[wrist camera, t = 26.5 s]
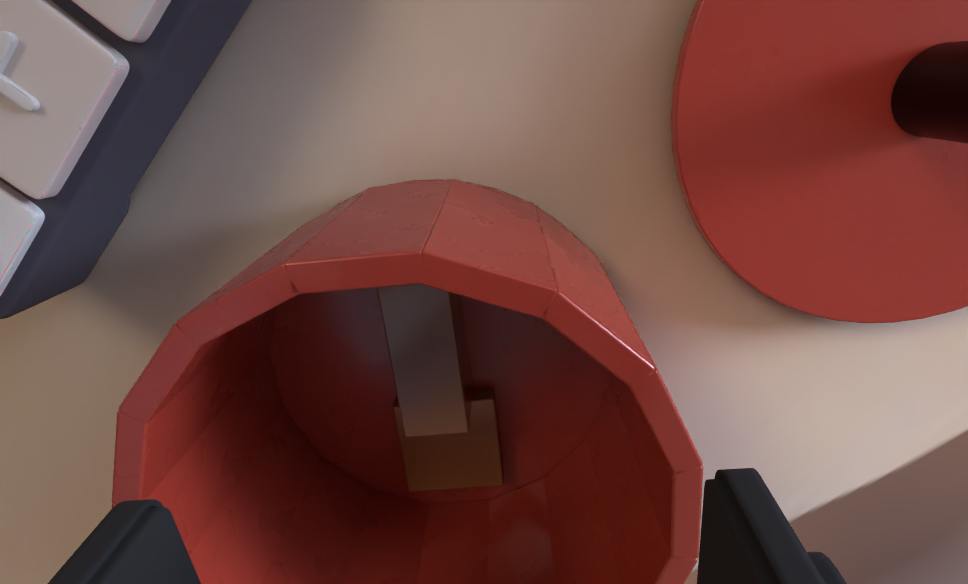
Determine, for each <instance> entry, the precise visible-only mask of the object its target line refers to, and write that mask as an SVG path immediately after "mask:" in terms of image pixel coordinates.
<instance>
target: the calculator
mask: <svg viewBox="0 0 968 584" xmlns="http://www.w3.org/2000/svg"><path fill="white" fill-rule="evenodd" d="M250 2H251V0H0V319H4V318H8V317H10V316H12V315H15V314H17V313H19V312H21V311H24V310H26V309H28V308H30V307H32V306H35V305H37V304H39V303H41V302H43V301H45V300H48V299H50V298H52V297H54V296H56V295H58V294H61V293H63V292H65V291H67V290H69V289H71V288H74V287H76V286H78V285H80V284H82V283H83V282H84V281H85V279H86V278H87V276H88V275H89V273H90V272H91V270H92V268H93V267H94V265H95V264H96V262H97V260H98V259H99V257H100V256H101V254H102V253H103V251H104V249H105V248H106V246H107V245H108V243H109V241H110V240H111V238H112V237H113V235H114V233H115V232H116V230H117V229H118V227H119V225H120V224H121V222H122V221H123V219H124V217H125V216H126V214H127V212H128V206H129V200H130V195H131V193H132V191H133V189H134V188H135V186H136V185H137V183H138V181H139V180H140V178H141V177H142V175H143V173H144V172H145V170H146V169H147V167H148V165H149V164H150V162H151V161H152V159H153V157H154V156H155V154H156V153H157V151H158V149H159V148H160V146H161V145H162V143H163V141H164V140H165V138H166V137H167V135H168V133H169V132H170V130H171V129H172V127H173V125H174V124H175V122H176V121H177V119H178V117H179V116H180V114H181V113H182V111H183V109H184V108H185V106H186V105H187V103H188V101H189V100H190V98H191V97H192V95H193V93H194V92H195V90H196V89H197V87H198V85H199V84H200V82H201V81H202V79H203V77H204V76H205V74H206V73H207V71H208V69H209V68H210V66H211V65H212V63H213V61H214V60H215V58H216V56H217V55H218V53H219V52H220V50H221V48H222V47H223V45H224V44H225V42H226V40H227V39H228V37H229V36H230V34H231V32H232V31H233V29H234V28H235V26H236V24H237V23H238V21H239V20H240V18H241V16H242V15H243V13H244V12H245V10H246V8H247V7H248V5H249V4H250Z"/></svg>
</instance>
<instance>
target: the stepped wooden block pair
mask: <svg viewBox="0 0 968 584" xmlns="http://www.w3.org/2000/svg"><path fill="white" fill-rule="evenodd" d="M377 293H378V298H379V303H380V308H381V314H382V319H383V324H384V329H385V335H386V340H387V345H388V350H389V356H390V361H391V366H392V371H393V377H394V382H395V387H396V392H397V397H396V399H395V402H394V405H393V411H394V416H395V421H396V427H397V432H398V437H399V442H400V447H401V452H402V457H403V462H404V467H405V473H406V478H407V483H408V488H409V491H410V492H414V491H429V490H444V489H458V488H473V487H488V486H502V485H503V484H504V470H503V461H502V453H501V444H500V435H499V427H498V418H497V409H496V401H495V392H494V389H481V390H473V385H472V378H471V370H470V363H469V355H468V348H467V340H466V333H465V325H464V317H463V310H462V302H461V295H457V294H454V293H450V292H447V291H444V290H440V289H437V288H433V287H430V286H426V285H423V284H411V285H400V286H389V287H377Z"/></svg>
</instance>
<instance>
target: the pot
mask: <svg viewBox="0 0 968 584" xmlns="http://www.w3.org/2000/svg"><path fill="white" fill-rule="evenodd" d="M411 284H423V285H426V286H430V287H433V288H437V289H440V290H444V291H447V292H450V293H454V294H457V295H461V302H462V310H463V317H464V325H465V333H466V340H467V348H468V355H469V363H470V370H471V378H472V385H473V390H481V389H494V392H495V401H496V409H497V418H498V427H499V435H500V444H501V453H502V461H503V470H504V484H503V485H502V486H488V487H473V488H458V489H444V490H429V491H414V492H410V491H409V488H408V483H407V478H406V473H405V467H404V462H403V457H402V452H401V447H400V442H399V437H398V432H397V427H396V421H395V416H394V411H393V405H394V402H395V399H396V397H397V392H396V387H395V382H394V377H393V371H392V366H391V361H390V356H389V350H388V345H387V340H386V335H385V329H384V324H383V319H382V314H381V308H380V303H379V298H378V293H377V287H389V286H400V285H411ZM702 480H703V466H702V460H701V458H700V456H699V454H698V452H697V450H696V448H695V446H694V444H693V442H692V440H691V438H690V435H689V433H688V431H687V429H686V427H685V425H684V423H683V421H682V419H681V417H680V415H679V413H678V411H677V409H676V407H675V404H674V402H673V400H672V398H671V396H670V394H669V392H668V390H667V388H666V386H665V384H664V382H663V380H662V378H661V375H660V373H659V371H658V369H657V368H656V366H655V364H654V362H653V360H652V358H651V356H650V355H649V353H648V351H647V349H646V347H645V345H644V343H643V341H642V340H641V338H640V336H639V334H638V332H637V330H636V328H635V327H634V325H633V323H632V321H631V319H630V317H629V315H628V314H627V312H626V310H625V308H624V306H623V304H622V302H621V301H620V299H619V297H618V295H617V293H616V291H615V289H614V287H613V286H612V284H611V282H610V280H609V278H608V276H607V274H606V273H605V271H604V269H603V267H602V265H601V263H600V261H599V260H598V258H597V256H595V254H594V253H593V252H592V251H591V250H590V249H588V248H587V247H586V246H585V245H584V244H583V243H582V242H581V241H580V240H578V239H577V238H576V237H575V236H574V235H573V234H572V233H571V232H570V231H569V230H568V229H567V228H566V227H565V226H564V225H562V224H561V223H560V222H558V221H557V220H555V219H554V218H553V217H551V216H550V215H549V214H547V213H546V212H544V211H543V210H542V209H540V208H539V207H538V206H537V205H534V203H531V202H528V201H525V200H523V199H521V198H518V197H516V196H513V195H511V194H508V193H505V192H503V191H500V190H497V189H495V188H490V187H486V186H482V185H478V184H473V183H469V182H462V181H459V180H456V179H454V180H453V179H449V180H414V181H408V182H402V183H396V184H390V185H386V186H378V187H371V188H368V189H366V190H364V191H363V192H361V193H359V194H357V195H356V196H354V197H352V198H350V199H348V200H346V201H344V202H342V203H340V204H338V205H337V206H335V207H334V208H332V209H330V210H329V211H327V212H325V213H323V214H322V215H320V216H318V217H316V218H314V219H313V220H311V221H309V222H307V223H306V224H304V225H302V226H301V227H300V228H298V229H297V230H296V231H294V232H293V233H292V234H290V235H289V236H288V237H287V238H285V239H284V240H283V241H281V242H280V243H279V244H277V245H276V246H275V247H273V248H272V249H271V250H269V251H268V252H267V253H265V254H264V255H263V256H262V257H260V258H259V259H258V260H256V261H255V262H254V263H252V264H251V265H250V266H248V267H247V268H246V269H244V270H243V271H242V272H241V273H239V274H238V275H237V276H235V277H234V278H233V279H231V280H230V281H229V282H227V283H226V284H225V285H223V286H222V287H221V288H220V289H218V290H217V291H216V292H214V293H213V294H212V295H210V296H209V297H208V298H206V299H205V300H204V301H202V302H201V303H200V304H199V305H197V306H196V307H195V308H193V309H192V310H191V311H189V312H188V313H187V314H185V315H184V316H183V317H181V318H180V319H179V320H178V321H177V322H176V323H175V324H174V325H173V326H172V328H171V329H170V331H169V332H168V334H167V335H166V337H165V338H164V340H163V342H162V343H161V345H160V346H159V348H158V349H157V351H156V352H155V354H154V355H153V357H152V358H151V360H150V361H149V363H148V364H147V366H146V367H145V369H144V370H143V372H142V373H141V375H140V376H139V378H138V379H137V381H136V382H135V384H134V385H133V387H132V388H131V390H130V391H129V393H128V394H127V396H126V397H125V399H124V400H123V402H122V403H121V405H120V406H119V411H118V413H117V425H116V442H115V458H114V475H113V491H112V503H113V504H112V508H113V507H114V506H116V505H117V504H118V503H120V502H122V501H130V500H149V499H156V500H158V501H160V502H161V503H162V505H163V506H164V507H166V508H168V509H169V510H170V512H171V513H172V516H173V518H174V521H175V523H176V525H177V528H178V530H179V532H180V535H181V537H182V540H183V542H184V544H185V547H186V549H187V551H188V554H189V556H190V559H191V561H192V563H193V566H194V568H195V570H196V573H197V575H198V578H199V580H200V582H201V584H684V582H685V581H686V579H687V577H688V576H689V574H690V572H691V571H692V569H693V567H694V566H695V564H696V562H697V558H698V556H699V538H700V519H701V499H702Z"/></svg>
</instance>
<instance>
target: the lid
mask: <svg viewBox="0 0 968 584" xmlns="http://www.w3.org/2000/svg"><path fill="white" fill-rule="evenodd" d="M671 135H672V151H673V156H674V162H675V167H676V173H677V178H678V181H679V184H680V187H681V190H682V193H683V196H684V199H685V203H686V206H687V208H688V210H689V212H690V214H691V216H692V218H693V220H694V222H695V224H696V226H697V227H698V229H699V231H700V233H701V234H702V235H703V237H704V238H705V240H706V241H707V242H708V244H709V245H710V247H711V248H712V250H713V251H714V252H715V253H716V254H717V255H718V257H719V258H720V259H721V260H722V261H723V262H724V263H725V264H726V265H727V266H728V267H729V268H730V269H731V270H732V271H733V272H734V273H735V274H737V275H738V276H739V277H740V278H742V279H743V280H744V281H746V282H747V283H748V284H750V285H751V286H752V287H754V288H755V289H756V290H758V291H759V292H761V293H762V294H764V295H766V296H768V297H770V298H771V299H773V300H775V301H777V302H779V303H781V304H782V305H785V306H788V307H790V308H793V309H796V310H798V311H801V312H804V313H806V314H810V315H814V316H819V317H823V318H827V319H832V320H838V321H848V322H859V323H886V322H899V321H907V320H914V319H922V318H927V317H931V316H935V315H939V314H943V313H947V312H951V311H955V310H958V309H961V308H963V307H966V306H968V0H698V1H697V3H696V5H695V7H694V9H693V12H692V15H691V18H690V21H689V24H688V27H687V30H686V33H685V36H684V39H683V42H682V45H681V48H680V53H679V58H678V63H677V68H676V73H675V78H674V82H673V94H672V106H671Z"/></svg>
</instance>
